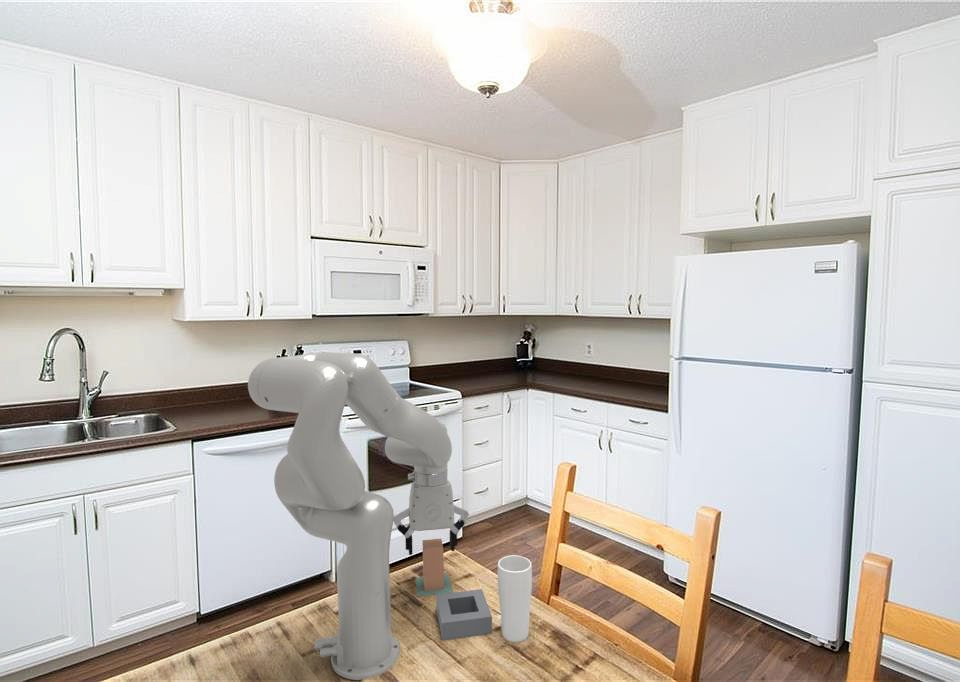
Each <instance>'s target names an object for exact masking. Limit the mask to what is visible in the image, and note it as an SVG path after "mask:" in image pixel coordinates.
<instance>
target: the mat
mask: <svg viewBox="0 0 960 682" xmlns="http://www.w3.org/2000/svg"><path fill="white" fill-rule="evenodd" d="M415 587H416V593H417V594H416V595H417V597H418V598H419V597H429V596H436V595H438V594H446V593H454V591H453V587H452V583H451V577H450V575H449V573H446V574H444V589H441V590H432V591H425V589H424V582H423V576H420V577H415Z"/></svg>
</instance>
